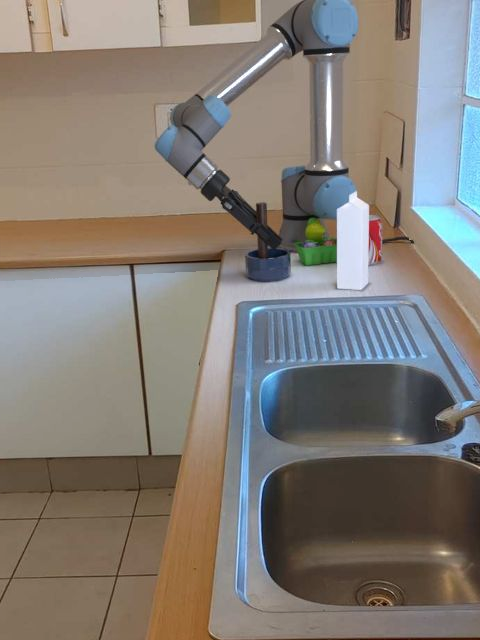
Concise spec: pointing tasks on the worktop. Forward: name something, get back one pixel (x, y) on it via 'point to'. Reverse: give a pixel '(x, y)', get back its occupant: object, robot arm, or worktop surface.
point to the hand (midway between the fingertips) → (278, 244)
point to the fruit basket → (316, 245)
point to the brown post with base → (262, 219)
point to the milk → (352, 244)
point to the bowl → (268, 265)
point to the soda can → (375, 240)
